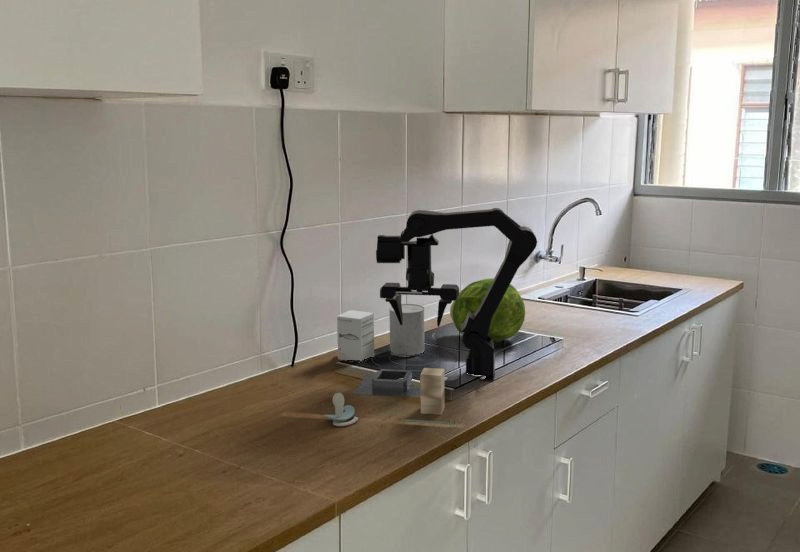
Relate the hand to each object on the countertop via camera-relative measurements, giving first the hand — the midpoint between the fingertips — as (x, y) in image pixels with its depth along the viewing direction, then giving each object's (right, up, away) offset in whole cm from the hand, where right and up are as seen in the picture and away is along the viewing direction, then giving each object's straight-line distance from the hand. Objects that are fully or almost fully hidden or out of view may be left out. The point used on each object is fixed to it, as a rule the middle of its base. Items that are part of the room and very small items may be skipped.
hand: (420, 325), depth 199 cm
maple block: (+2, -17, -22) cm, 28 cm away
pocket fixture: (-7, -15, -6) cm, 17 cm away
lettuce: (+18, -7, +31) cm, 37 cm away
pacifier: (-17, -19, -25) cm, 36 cm away
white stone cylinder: (-3, -9, +22) cm, 24 cm away
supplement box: (-16, -10, +16) cm, 25 cm away
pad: (+2, -18, -22) cm, 28 cm away
